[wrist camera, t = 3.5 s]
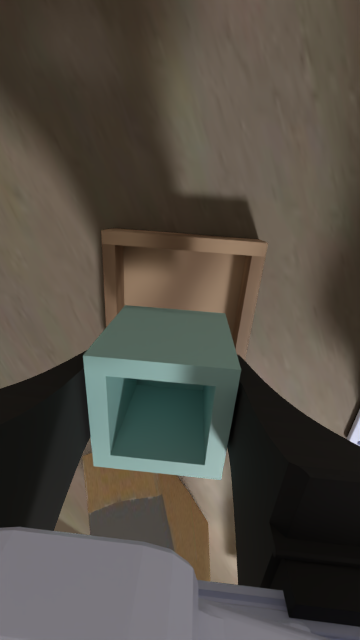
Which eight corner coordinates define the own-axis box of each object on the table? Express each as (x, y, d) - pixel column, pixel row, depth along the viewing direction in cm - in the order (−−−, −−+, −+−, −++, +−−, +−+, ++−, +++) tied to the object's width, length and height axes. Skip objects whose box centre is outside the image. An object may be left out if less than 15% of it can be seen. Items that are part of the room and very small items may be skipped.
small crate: (225, 313, 12) (241, 369, 8) (213, 395, 14) (221, 479, 10) (125, 305, 13) (82, 355, 8) (126, 386, 14) (93, 466, 10)
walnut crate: (258, 239, 17) (268, 243, 15) (236, 364, 21) (240, 382, 19) (114, 228, 17) (101, 230, 15) (118, 352, 21) (108, 369, 19)
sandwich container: (149, 431, 25) (87, 702, 11) (211, 522, 30) (221, 789, 16) (79, 454, 27) (-48, 708, 13) (148, 536, 32) (108, 784, 18)
